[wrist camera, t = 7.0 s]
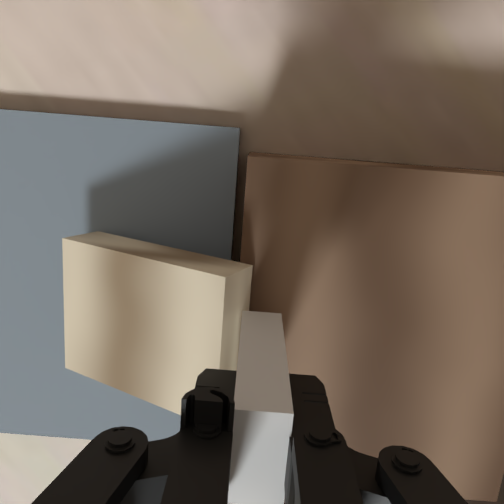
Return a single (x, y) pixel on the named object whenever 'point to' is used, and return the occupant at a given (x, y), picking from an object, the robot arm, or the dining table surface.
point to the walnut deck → (389, 301)
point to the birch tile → (150, 314)
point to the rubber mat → (86, 221)
